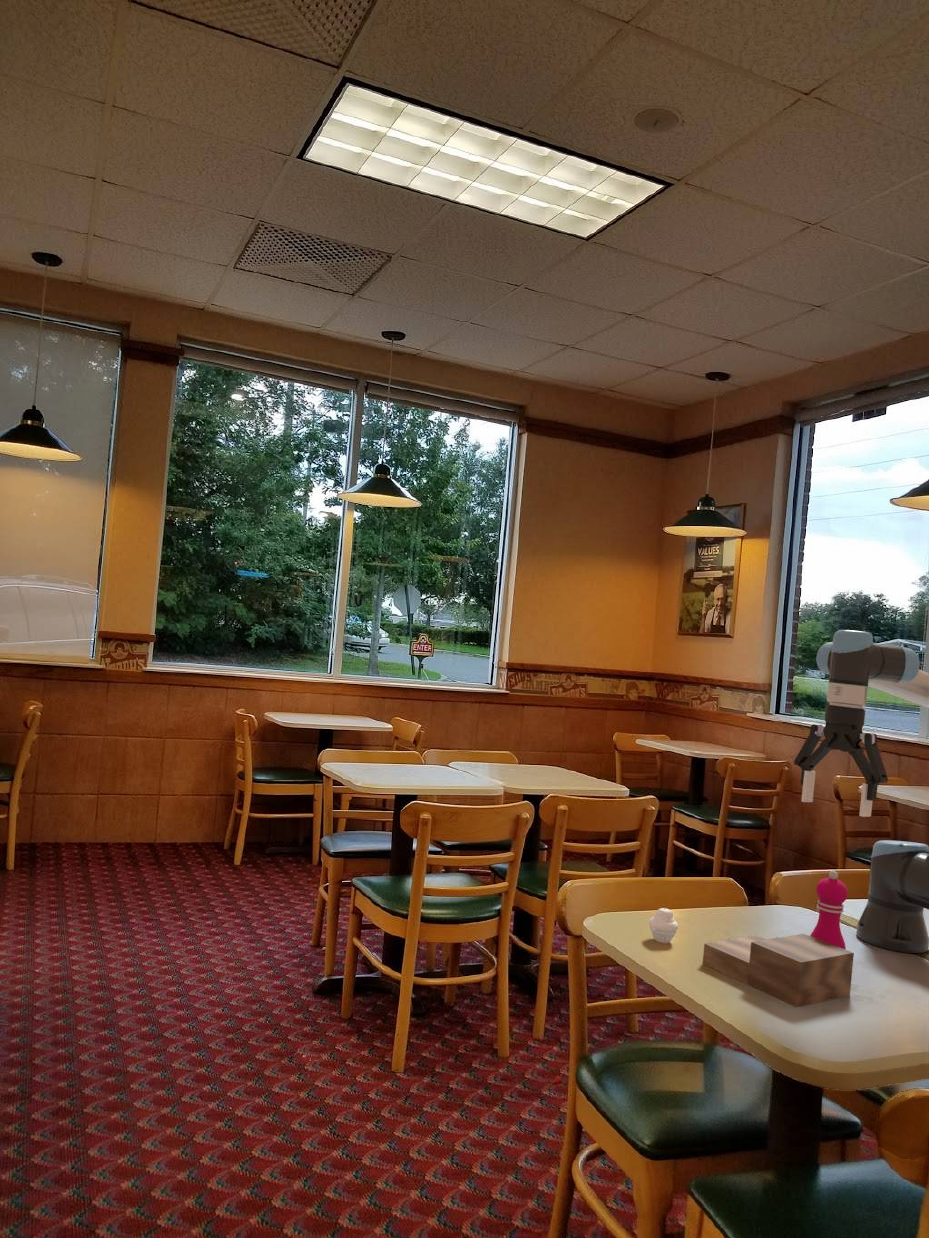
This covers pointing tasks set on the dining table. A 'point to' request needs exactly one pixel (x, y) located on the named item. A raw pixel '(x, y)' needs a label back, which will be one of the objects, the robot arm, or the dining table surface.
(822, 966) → the step stand
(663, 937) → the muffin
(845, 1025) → the dining table surface
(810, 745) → the robot arm
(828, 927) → the pepper mill
